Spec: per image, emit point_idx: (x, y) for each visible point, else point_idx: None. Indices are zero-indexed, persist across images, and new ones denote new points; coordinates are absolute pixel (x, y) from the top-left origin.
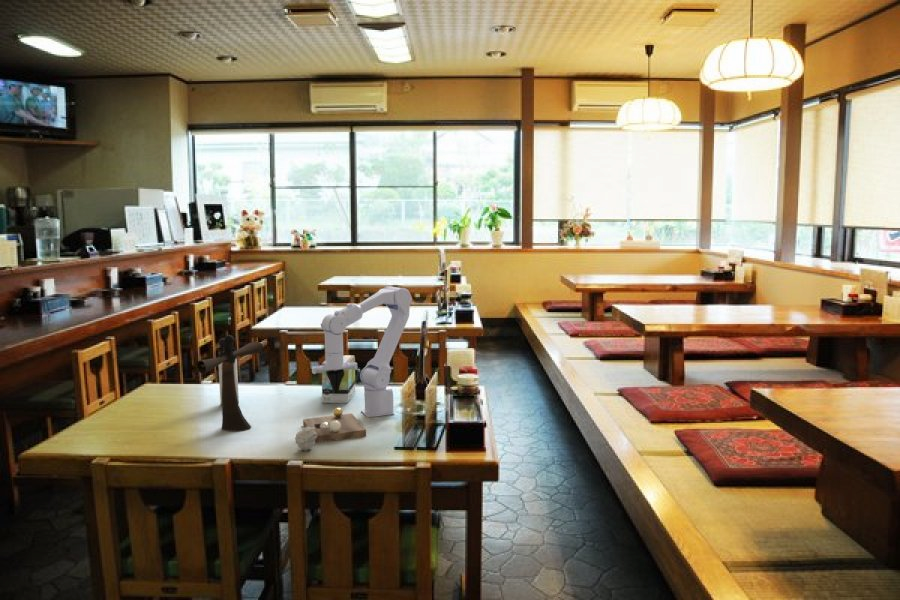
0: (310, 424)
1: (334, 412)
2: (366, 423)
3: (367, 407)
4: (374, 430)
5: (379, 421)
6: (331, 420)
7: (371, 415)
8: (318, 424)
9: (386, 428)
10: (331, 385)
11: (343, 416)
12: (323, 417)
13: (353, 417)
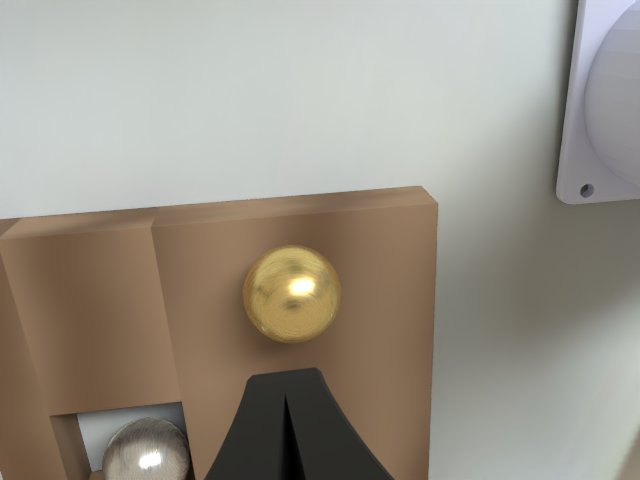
0: (17, 410)
1: (252, 321)
2: (495, 326)
3: (630, 154)
4: (493, 468)
5: (600, 308)
6: (214, 355)
7: (600, 193)
8: (93, 407)
9: (577, 452)
10: (222, 462)
11: (339, 278)
12: (143, 252)
13: (417, 330)
